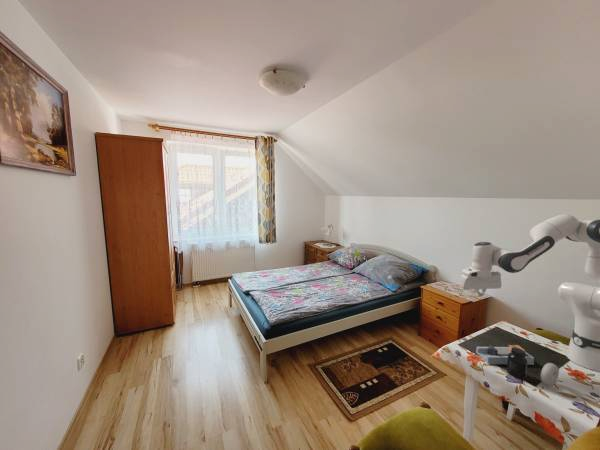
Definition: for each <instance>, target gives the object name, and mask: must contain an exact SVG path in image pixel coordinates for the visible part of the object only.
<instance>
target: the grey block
mask: <svg viewBox="0 0 600 450" xmlns="http://www.w3.org/2000/svg"><path fill="white" fill-rule="evenodd" d="M487 347H488V354H489V355H491V356H508V354H509V353H510V352H511V350H510V349H509V348H494V347H495V346H493V345H492V344H488V345H487Z"/></svg>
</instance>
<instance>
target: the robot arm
mask: <svg viewBox="0 0 600 450" xmlns="http://www.w3.org/2000/svg"><path fill="white" fill-rule="evenodd" d="M529 237H530V239H531V241H532V243H530V244H528V245H527V246H525V247H524V248H523V249H521V250H519V251H512V250H508V249H505V248H502V247H498V246H497V245H494V244H493V243H491V242H489V241H480V242H476V243H474V244H473V248H472V252H471V259H472V263H471V265H470V267H467V268H463V269H462V270H461V275H460V278H459V286H460V288H461V289H464V290H474V291H475V296H477V297H484V294H486V293H485V292H486V291H487V289H488V290H491V289H492V290H493V289H498V290H499V289H501V288H502V278H501V276H502V274H501V272H499V271H497V270H495V271H493V266H497V267H499V268H501V269H502V270H503V271H505V272H507V273H511V274H515V273H516V274H517V273H519V272H521V271H523V270H525V268H526V267H527V266H528V265H529V264H530V263H532V262H533V261H535V259H537V258H539V257H540V256H542V255H543V254H545V253H546V252H548V251H549V250H551V249H552V248H553V247H554V246H555V243H557V242H559V241H561V240H563V239H566V240H568V241H572V242H576V243H577V242H578V243H587V245H588V248H589V249H588V253H587V257H586V260H585V264H584V265H585V266H584V269H583V271H584V273H585V274H586V275H587V276H588V277H590V278H592V279H593V280H595V281H597V282H598V283H599V284H600V219H585V220H578V218H576V217H575V216H573V215H572V214H567V213H563V214H558V215H555V216H553V217H550V218H548V219H546V220H543V221H541V222H540V223H538V224H535V225H534V226H533V227H532V228H530V230H529ZM557 294H558V296H559V298H561V300H562V301H564V302H565V303H566V304H567V305H568V306H569V308H570V309H571V311H572V313H573V317H574V329H573V330H572V332H571V334H572V335H571V338H570V341H569V344H568V347H566V350H565V351H566V352H565V353H566V354H565V357H566V358H567V359H569V360H570V361H571V362H573V363H574V364H576V365H579V366H580V367H583V368H586V369H589V370H591V371H595V372H598V373H600V315H599V314H598V313H597V312H596V311H598V312H600V286H594V285H590V284H585V283H579V282H570V281H564V282H562V283H561V284H560V285H559V286H558V287H557Z"/></svg>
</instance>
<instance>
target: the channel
mask: <svg viewBox="0 0 600 450" xmlns="http://www.w3.org/2000/svg"><path fill="white" fill-rule="evenodd" d="M493 347H494V348H509V346H493ZM475 349H476V350H475V354H477V355H478V356H479V357H480V358H481V359H482V360H483V361H484V362H486V363H487V365H507V361H508V356H491V355H489V354H488V346H476V348H475ZM525 357H526V359H527V361H528V363H527V366H528V365H531V366H532V365H533V366H534V365H535V363H534V361H535V357H534V356H532V355H531V354H529V352H527V351H525Z"/></svg>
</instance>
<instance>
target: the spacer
mask: <svg viewBox="0 0 600 450" xmlns="http://www.w3.org/2000/svg"><path fill="white" fill-rule="evenodd" d="M508 347H509V349H510V350H511V349H512V348H513V347H515V348H519V349H522V350H523V351H525V352H526V350H525V349H524V348H522V346H520V345H518V344H508Z"/></svg>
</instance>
